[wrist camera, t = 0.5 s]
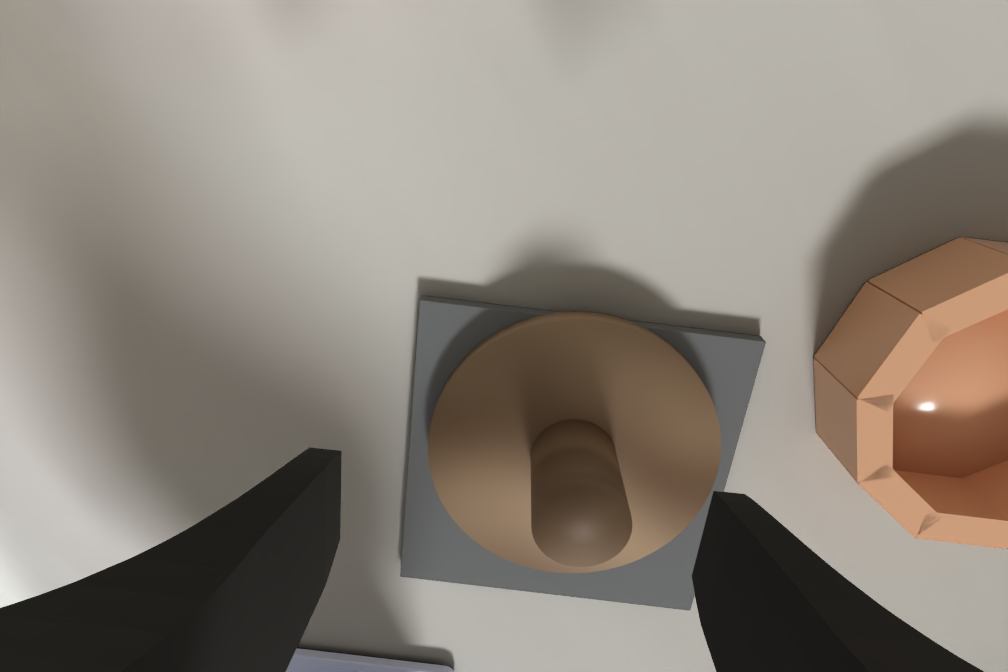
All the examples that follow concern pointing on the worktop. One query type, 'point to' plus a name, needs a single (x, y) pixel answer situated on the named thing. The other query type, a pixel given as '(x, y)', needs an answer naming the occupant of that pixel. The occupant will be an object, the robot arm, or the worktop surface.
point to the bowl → (925, 392)
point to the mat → (459, 559)
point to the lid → (574, 442)
